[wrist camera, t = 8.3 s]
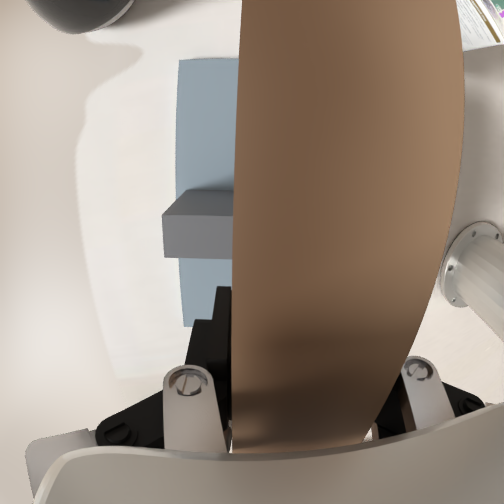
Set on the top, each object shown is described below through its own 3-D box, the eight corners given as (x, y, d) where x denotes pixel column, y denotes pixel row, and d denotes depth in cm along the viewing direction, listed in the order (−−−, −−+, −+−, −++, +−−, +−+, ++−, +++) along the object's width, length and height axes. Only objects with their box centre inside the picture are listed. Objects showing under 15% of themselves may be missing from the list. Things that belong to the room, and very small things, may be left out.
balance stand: (348, 73, 24) (395, 50, 14) (319, 322, 34) (341, 382, 25) (181, 63, 23) (151, 30, 14) (185, 320, 34) (169, 381, 24)
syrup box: (411, 6, 20) (490, -34, 6) (442, 47, 22) (531, 27, 8) (381, 23, 21) (463, -25, 8) (415, 66, 23) (510, 46, 10)
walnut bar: (359, 10, 7) (441, -55, 2) (293, 451, 16) (303, 520, 11) (246, -6, 7) (251, -105, 2) (234, 453, 16) (234, 523, 11)
